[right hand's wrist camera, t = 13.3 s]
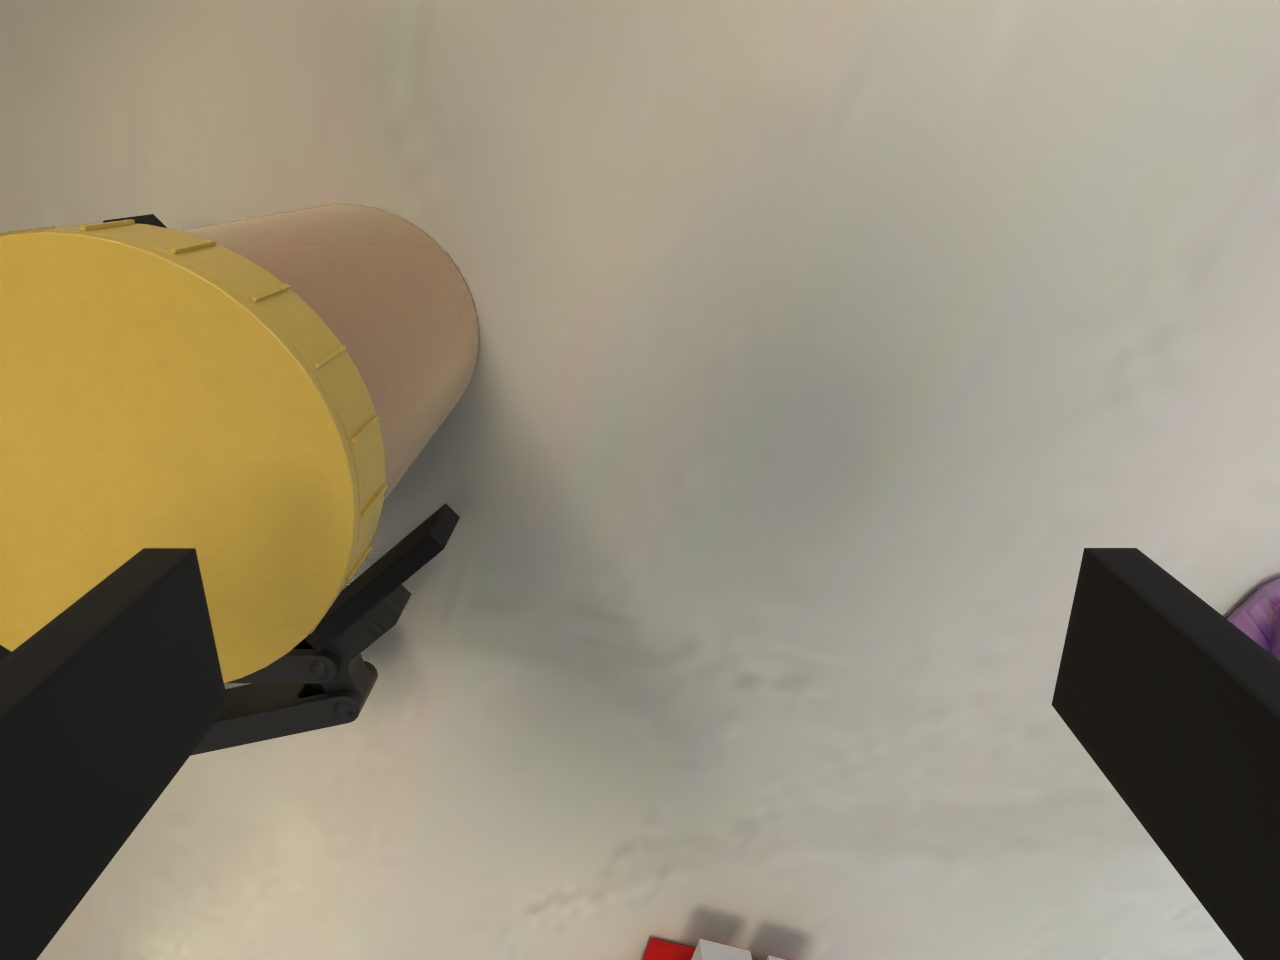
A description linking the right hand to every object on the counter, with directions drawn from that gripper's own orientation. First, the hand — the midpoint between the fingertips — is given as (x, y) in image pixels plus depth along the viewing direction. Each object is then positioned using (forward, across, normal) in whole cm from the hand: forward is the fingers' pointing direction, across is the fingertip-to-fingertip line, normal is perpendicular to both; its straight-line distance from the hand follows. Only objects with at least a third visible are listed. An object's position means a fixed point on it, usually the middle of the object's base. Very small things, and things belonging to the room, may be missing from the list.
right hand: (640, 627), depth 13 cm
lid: (+6, +11, 0) cm, 13 cm away
